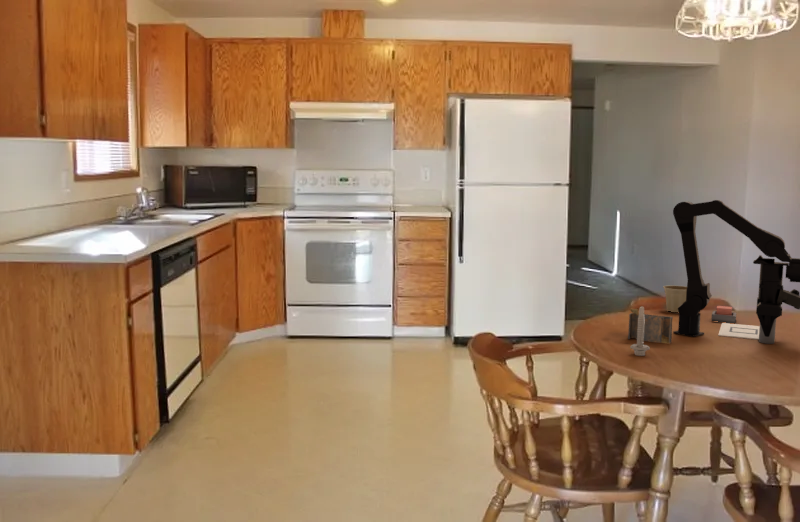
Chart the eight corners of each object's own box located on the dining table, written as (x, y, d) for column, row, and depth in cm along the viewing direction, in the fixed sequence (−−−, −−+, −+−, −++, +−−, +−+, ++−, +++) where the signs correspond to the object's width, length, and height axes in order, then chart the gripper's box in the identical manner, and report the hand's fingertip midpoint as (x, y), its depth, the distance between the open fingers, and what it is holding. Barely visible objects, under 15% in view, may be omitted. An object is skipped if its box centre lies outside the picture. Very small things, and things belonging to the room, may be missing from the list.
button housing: (735, 324, 225) (735, 316, 225) (711, 321, 228) (711, 314, 228) (735, 320, 231) (736, 312, 231) (712, 318, 234) (713, 310, 234)
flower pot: (695, 314, 240) (696, 289, 239) (667, 314, 240) (668, 289, 239) (684, 309, 250) (686, 285, 249) (658, 309, 250) (659, 285, 249)
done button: (731, 316, 226) (731, 309, 226) (716, 314, 228) (716, 307, 228) (731, 313, 230) (732, 306, 230) (717, 312, 232) (717, 305, 232)
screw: (632, 356, 182) (628, 352, 187) (651, 357, 181) (647, 352, 186) (634, 307, 181) (630, 304, 185) (653, 307, 180) (649, 304, 185)
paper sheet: (767, 340, 202) (767, 339, 202) (718, 335, 208) (718, 334, 208) (767, 327, 219) (767, 326, 219) (721, 323, 225) (722, 322, 225)
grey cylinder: (770, 344, 196) (772, 312, 195) (755, 341, 200) (757, 310, 199) (777, 342, 199) (779, 311, 198) (762, 339, 202) (764, 309, 201)
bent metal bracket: (627, 340, 202) (629, 307, 201) (630, 338, 205) (631, 305, 204) (669, 345, 197) (671, 311, 195) (671, 343, 199) (673, 309, 198)
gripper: (805, 287, 185) (801, 345, 187) (802, 278, 202) (798, 331, 204) (758, 283, 191) (754, 340, 192) (758, 275, 207) (755, 327, 209)
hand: (766, 335), depth 199 cm, fingers closed on grey cylinder, 4 cm apart
